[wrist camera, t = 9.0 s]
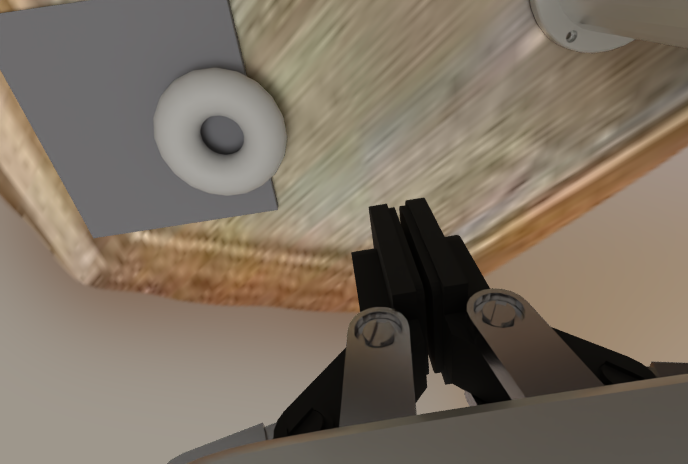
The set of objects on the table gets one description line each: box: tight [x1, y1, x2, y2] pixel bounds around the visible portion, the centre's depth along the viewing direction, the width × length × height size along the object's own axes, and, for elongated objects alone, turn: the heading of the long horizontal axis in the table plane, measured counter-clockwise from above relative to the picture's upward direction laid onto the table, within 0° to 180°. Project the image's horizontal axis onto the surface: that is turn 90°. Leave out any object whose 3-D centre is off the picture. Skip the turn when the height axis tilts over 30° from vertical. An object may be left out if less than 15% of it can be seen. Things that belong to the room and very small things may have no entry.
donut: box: [153, 67, 287, 196], centre depth 31 cm, size 10×4×10 cm
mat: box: [0, 0, 278, 238], centre depth 32 cm, size 17×18×1 cm
